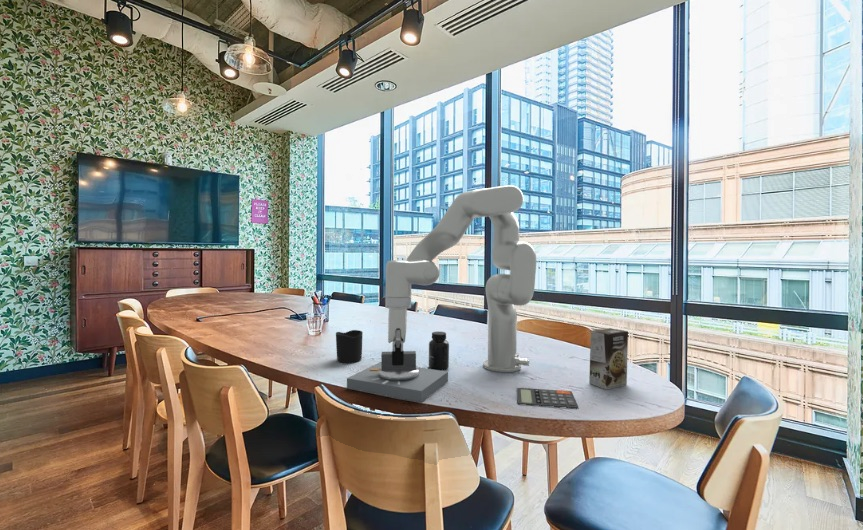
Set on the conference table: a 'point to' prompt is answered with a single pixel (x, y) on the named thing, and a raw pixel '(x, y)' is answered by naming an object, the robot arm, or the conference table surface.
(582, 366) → the conference table surface
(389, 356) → the gray block on plate
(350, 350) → the pen holder
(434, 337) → the supplement bottle
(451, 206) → the robot arm
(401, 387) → the stand
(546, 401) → the calculator
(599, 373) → the coffee box
